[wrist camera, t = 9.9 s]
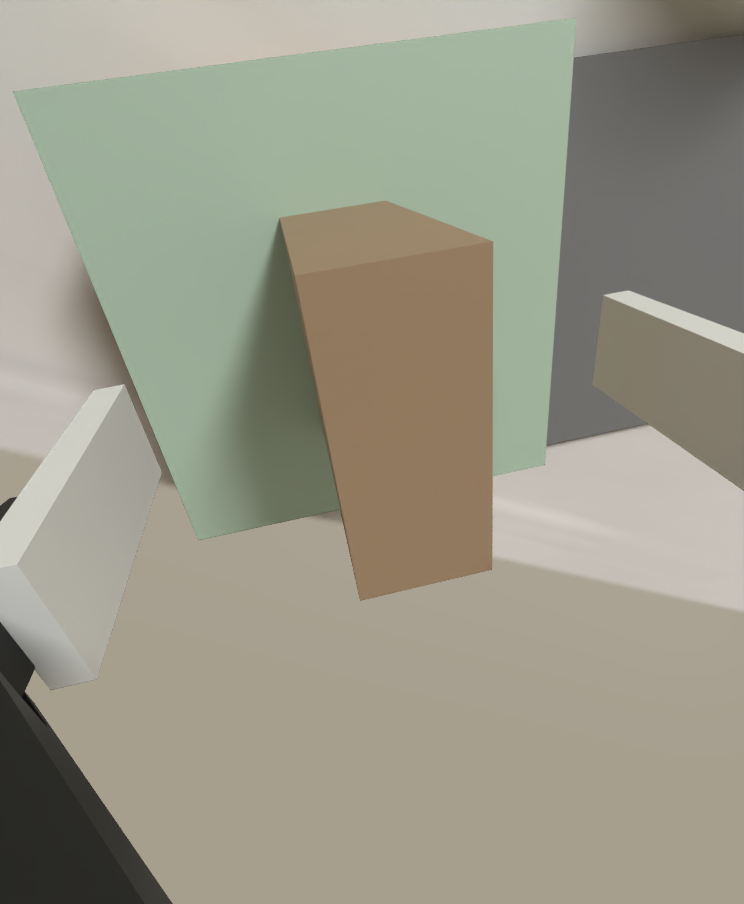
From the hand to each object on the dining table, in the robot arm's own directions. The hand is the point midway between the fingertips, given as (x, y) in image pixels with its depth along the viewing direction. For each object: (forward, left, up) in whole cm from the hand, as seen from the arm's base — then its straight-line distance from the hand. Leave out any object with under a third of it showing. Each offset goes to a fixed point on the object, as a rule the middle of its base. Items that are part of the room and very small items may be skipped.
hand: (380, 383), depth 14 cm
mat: (+2, +19, -12) cm, 23 cm away
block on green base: (0, 0, -6) cm, 6 cm away
